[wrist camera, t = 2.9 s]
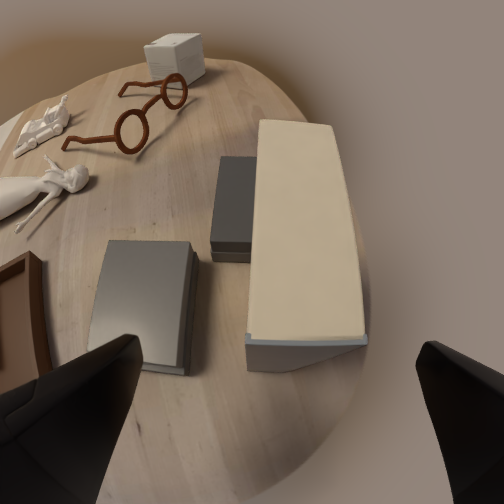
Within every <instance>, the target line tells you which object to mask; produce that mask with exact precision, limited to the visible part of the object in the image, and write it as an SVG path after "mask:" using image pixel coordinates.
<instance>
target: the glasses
mask: <svg viewBox="0 0 504 504" xmlns="http://www.w3.org/2000/svg"><path fill="white" fill-rule="evenodd" d="M174 77H175V78H174ZM174 82H181V84H182V87H183V96H182V99H181V100H180V102H179V103H178V104H176V105H173V104H172V103H171V102H170V101H169V99H168V97H167V93H166V89H167V85H168V83H174ZM156 85H162V86H161V90H160V93H161V94H160V95H156V96H154V97H153V98H152V99H151V100H150V101H148V102H147V103H146V104H145V105H144V107H143V108H142V110H140V109H131V110H128V111H126V112H124V113H123V114H122V115H121V116H120V117H119V118H118V120H117V122H116V124H115V128H114V135H109V136H99V137H91V138H81V137H78V136H68V137H67V138H66V140H65V142H64V144H63V146H62V148H61V149H62V150H63V151H65V150H66V148H67V146H68V144H69V142H70V141H76V142H79V143H82V144H91V143H102V142H116V144H117V146H118V148H119V149H120V150H121V151H122V152H123V153H125V154H135V153H137V152H139V151H140V150H141V149H142V148H143V147H144V145H145V144H146V142H147V140H148V136H149V126H148V122H147V119H146V116H145V114H146V112H147V111H148V109H149V108H150V107H151V106H152V105H154V104H155V103H156V102H157V101H158V100H159V99H161V98H162V99H163V101H164V103H165V104H166V106H167V107H168V108H169V109H171V110H176V109H179V108H181V107H182V106H183V105H184V103H185V102H186V99H187V96H188V88H187V83H186V81H185V79H184V77H183V76H182V75H181V74H179V73H172V74H170V75H168V76H167V77H166V78H165V79H163V80H158V81H152V82H147V83H143V82H137V81H134V82H127V83H125V85H124V86H123V87H122V89H121V90H120V92H119V93H118V96H119V97H121V96H122V95H123V93H124V92H125V90H126V89H127V87H128V86H140V87H150V86H156ZM132 114H133V115H137V116H138V117H139V118H140V120H141V122H142V125H143V130H144V131H143V137H142V140H141V141H140V143H139V144H138V145H137V146H136V147H135V148H133V149H129V148H127V147H126V146H125V145H124V144H123V142H122V140H121V135H120V129H121V126H122V123H123V122H124V120H125V119H126V118H127V117H128V116H130V115H132Z"/></svg>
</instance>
